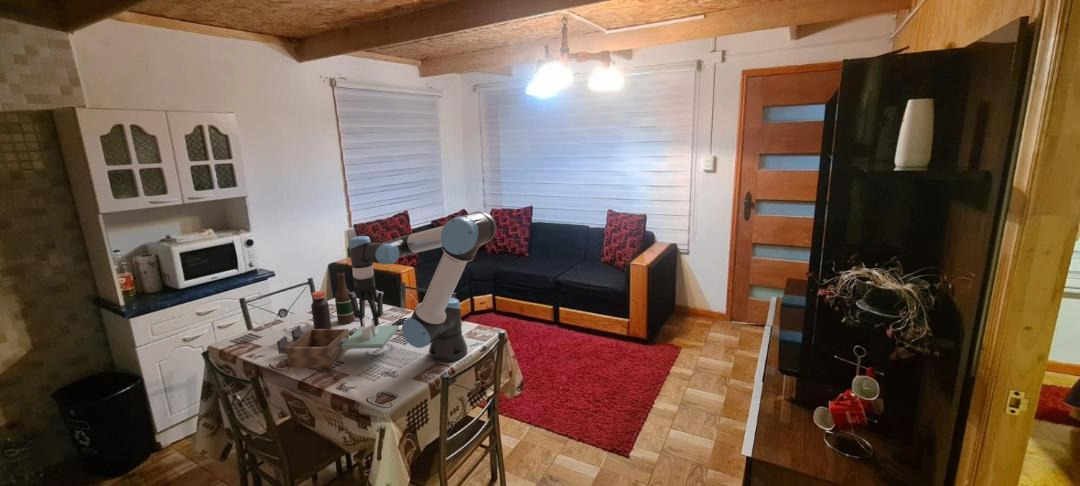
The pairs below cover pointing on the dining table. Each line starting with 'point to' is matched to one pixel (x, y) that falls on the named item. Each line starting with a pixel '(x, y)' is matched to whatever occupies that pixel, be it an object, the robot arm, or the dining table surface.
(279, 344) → the cabinet
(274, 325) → the dining table surface
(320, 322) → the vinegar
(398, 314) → the dining table surface
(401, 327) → the door handle
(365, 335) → the door
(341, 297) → the beer bottle
